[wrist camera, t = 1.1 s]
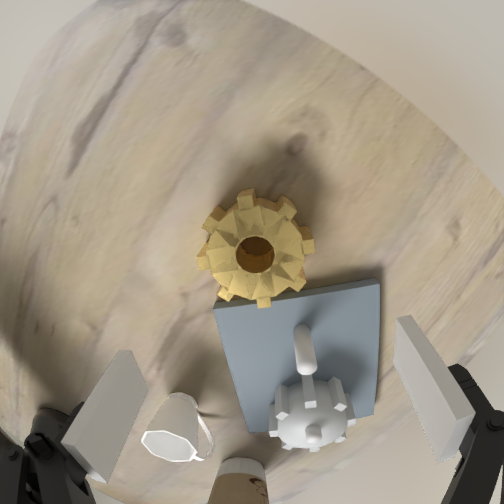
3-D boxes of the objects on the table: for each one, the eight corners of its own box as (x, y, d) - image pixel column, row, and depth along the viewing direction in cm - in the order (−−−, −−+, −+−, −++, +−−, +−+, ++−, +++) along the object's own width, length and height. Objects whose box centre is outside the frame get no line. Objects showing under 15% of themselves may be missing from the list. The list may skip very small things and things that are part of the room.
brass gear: (218, 292, 32) (210, 314, 28) (196, 198, 29) (184, 207, 25) (313, 278, 31) (320, 299, 27) (300, 180, 28) (306, 186, 24)
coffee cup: (289, 470, 43) (291, 545, 29) (237, 486, 45) (231, 553, 31) (247, 442, 40) (240, 527, 26) (194, 460, 43) (178, 534, 29)
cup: (179, 376, 36) (162, 422, 29) (234, 418, 39) (228, 464, 31) (147, 397, 38) (129, 439, 31) (200, 435, 40) (190, 477, 33)
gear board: (249, 425, 39) (246, 467, 32) (215, 302, 33) (201, 343, 26) (371, 407, 37) (383, 447, 30) (375, 277, 31) (400, 312, 24)
